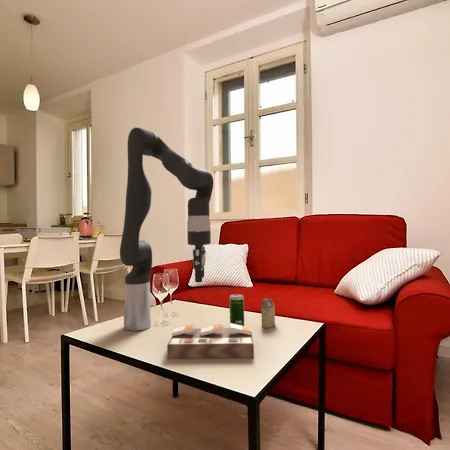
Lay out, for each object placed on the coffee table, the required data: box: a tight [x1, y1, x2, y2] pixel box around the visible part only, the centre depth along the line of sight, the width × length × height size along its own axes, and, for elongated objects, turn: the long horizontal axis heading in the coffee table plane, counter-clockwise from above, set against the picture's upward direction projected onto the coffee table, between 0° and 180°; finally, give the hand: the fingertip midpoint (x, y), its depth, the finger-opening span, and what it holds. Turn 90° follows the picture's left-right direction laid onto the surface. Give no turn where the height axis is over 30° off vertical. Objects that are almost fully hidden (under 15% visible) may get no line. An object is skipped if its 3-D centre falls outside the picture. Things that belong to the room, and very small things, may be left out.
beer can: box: [229, 293, 245, 326], centre depth 115 cm, size 5×5×12 cm
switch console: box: [166, 327, 255, 360], centre depth 96 cm, size 25×14×5 cm, turn 88°
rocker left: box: [171, 323, 197, 337], centre depth 98 cm, size 7×4×1 cm, turn 89°
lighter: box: [260, 298, 276, 329], centre depth 117 cm, size 7×4×10 cm, turn 145°
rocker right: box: [228, 322, 253, 336], centre depth 97 cm, size 7×4×1 cm, turn 88°
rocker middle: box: [200, 322, 224, 336], centre depth 97 cm, size 7×4×1 cm, turn 89°
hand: (199, 279), depth 100 cm, fingers open, 8 cm apart
